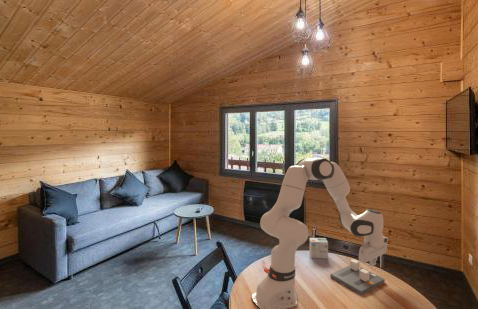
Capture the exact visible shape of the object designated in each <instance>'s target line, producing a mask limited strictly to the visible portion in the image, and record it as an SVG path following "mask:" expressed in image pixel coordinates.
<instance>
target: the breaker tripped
mask: <svg viewBox="0 0 478 309" xmlns="http://www.w3.org/2000/svg"><path fill="white" fill-rule="evenodd" d="M367 270H368V269H366V270H365V268H364V269H361V270H360V273H359V279H361V280H363V281H365V282H367V281H368V280H369V270H368V271H367Z"/></svg>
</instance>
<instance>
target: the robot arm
mask: <svg viewBox="0 0 478 309" xmlns="http://www.w3.org/2000/svg"><path fill="white" fill-rule="evenodd" d="M309 180H311V181H322V182H323V184H324V186H325V188H326V190H327V192H328V194H329V196H331V198H332V200H333V201H334V204H335V206H336V209H337V211H338V216H339V217H338V218H339V223H340V225H341V226H342V227H344V228H345V229H346V230H348V231H349V232H350V233H351V234H352V235H353V236H355V237H360V238H361V237H363V243H362V245H361V246H359V247H360V248H359V250H358V251H359V252H358V261H359V262H362V263H364V264H366V263H368V262H369V266H370V267H373V266H376V265H377V261H378V257H381V256H383V255H384V254H386V253H387V251H388V242H389V238H388V237H387V236H384V234H383V230H384V216H383V214H382V213H381V212H380V211H378V210H377V209H372V208H367V209H365V211H364V212H362V213H360V214H357V213H356V212H354V211H353V210H352V209H351V207H350V205H349V202H348V200H347V196H348V195H349V193H350V192H351V187H350V184H349V181H348V179H347V177H346V175H345V173H344V171H343V170H342V169H341V167H340V166H339V165H338V164H337V163H336V162H335V161H330V159H328V158H325V157H308V158H302V159H300V160H298V162H297V163H296V165H291V166H289V167H288V169H287V171H286V172H285V174H284V178H283V180H282V182H281V183H282V184H281V186H280V191H279V193H278V197H277V200H276V202H275V203H274V205H273V206H272V208H270V209H269V210H268V211H267V212H265V213H264V214H263V215H262V216H261V217H260V222H259V226H260V228H261V230H262V231H264V232H265V233H266V234H268V235H269V236H271V237H274V238H277V239H278V240H279V243H278V245H277V244H276V245H275V246H273V248H272V249H271V252H270V259H271V261H270V265H269V268H268V267H265V268H264V269H263V271H264V273H266V275H265V277H264V278H263V279H262V280H261V281H260V282H259V283H258V284H257V287H256V291H255V292H254V293H252V294H251V297H252V298H251V300H253V301H254V303H255V304H256V305H257V306H258V307H259V308H260V309H291V308H294V307H297V306H298V301H297V300H298V297H299V296H298V293H297V288H296V279H295V277H296V266H295V263H296V262H295V261H296V252H297V249H298V248H299V247H300V246H302V245H304V244H305V243H306V242H307V241H308V239H309V228H308V226H307V225H306V224H305V223H304V222H302V221H300V220H298V219H295V218H293V217H292V218H291V217H290V214H291V213H292V212H293V211H295V210H298V209H299V208H300V207H301V206H302V204H303V203H302V202H303V198H304V194H305V190H306V187H307V186H306V185H307V182H308V181H309ZM254 298H255V299H254ZM253 301H252V302H253ZM254 303H253V304H254ZM255 304H254V305H255ZM256 305H255V306H256ZM257 306H256V307H257ZM258 307H257V308H258ZM259 308H258V309H259Z"/></svg>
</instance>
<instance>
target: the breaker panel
mask: <svg viewBox="0 0 478 309" xmlns="http://www.w3.org/2000/svg"><path fill="white" fill-rule="evenodd" d="M361 269H365V268H363V267H361V266H359V270H357V271H355V270H353V269H351V268H350V265H348V266H346V267H343V268H340V269H338V270H336V271H334V272H331V273H330V275H329V276H330V278H331V279H333V280H334V281H336V282H338V283H339V284H341V285H343V286H345V287H346V288H348V289H350V290H351V291H353V292H355V293H356V294H358V295H359V296H362V295H364V294H366V293H368V292H369V291H372V290H373V289H376V288H377V287H379V286H381V285H382V283H383V284H385V283H384V282H386V280H385V278H384V277H382V276H380V275H378V274H375V273H373V272H372V271H369V270H368V269H365V270H367V271H369V280H368V281H367V282H365V281H363V280H361V279H359V273H360V270H361ZM380 284H381V285H380Z"/></svg>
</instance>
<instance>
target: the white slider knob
mask: <svg viewBox="0 0 478 309" xmlns="http://www.w3.org/2000/svg"><path fill="white" fill-rule="evenodd" d="M349 266H350V268H351V269H353V270H355V271H357V270H359V267H360V260H357V259H354V258H353V259H351V260H350V261H349Z"/></svg>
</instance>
